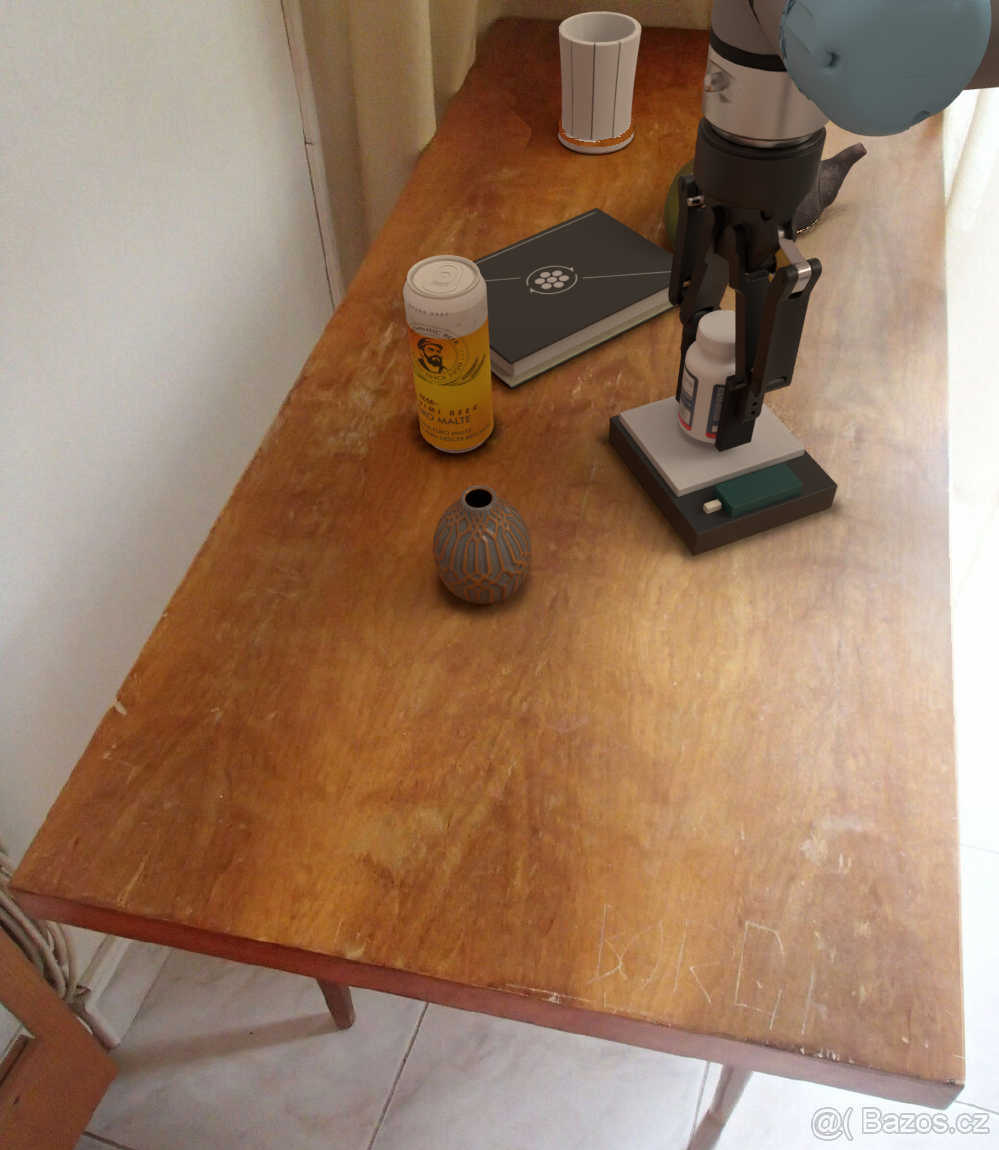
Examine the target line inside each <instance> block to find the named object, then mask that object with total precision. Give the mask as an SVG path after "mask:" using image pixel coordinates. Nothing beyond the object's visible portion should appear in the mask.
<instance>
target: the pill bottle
mask: <svg viewBox="0 0 999 1150" xmlns="http://www.w3.org/2000/svg"><path fill="white" fill-rule="evenodd" d="M732 375H735V310H729V309H722V310H718V311H713V312H710V313H708V314H706V315H704V316H703V317H702V318H701V320H700V321H699V324H698V330H697V334H696V341H695V342H694V343H693V344H692V345H691V346H690V347H689V349H688V351H687V353H686V358H685V364H684V372H683V380H682V388H681V396H680V404H679V412H678V420H679V424H680V426H681V428H682V429H683V430H684V431H685V432H686V433H687V434H688V435H689V436H691V437H693V438H695V439H697V440H700V441H704V442H709V443H715V440H716V435H717V429H718V423H719V418H720V412H721V406H722V401H723V395H724V389H725V384H726V378H727V377H728V376H732Z"/></svg>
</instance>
